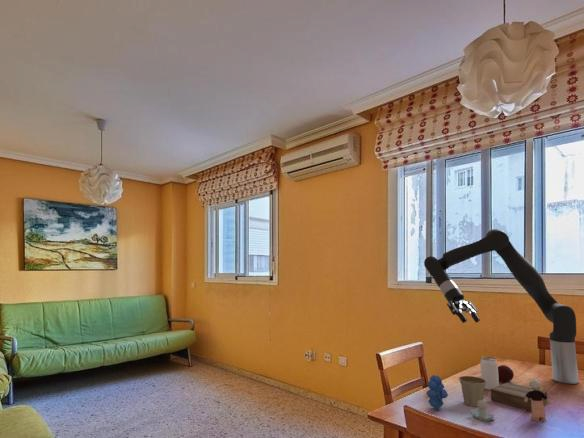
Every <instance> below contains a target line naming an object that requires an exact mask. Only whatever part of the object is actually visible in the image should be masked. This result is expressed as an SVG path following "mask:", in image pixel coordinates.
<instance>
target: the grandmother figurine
mask: <svg viewBox="0 0 584 438" xmlns="http://www.w3.org/2000/svg"><path fill="white" fill-rule="evenodd" d="M528 385H529V387H530V388H532V389H533V390H534V391H529V392H528V393H527V394H526V395H525V399H524V402H527V401H528V399H530V398H531V406H532V411H531V413H532V416H531V420H533V421H536V422H539V421H542V422H547V418H546V411H545V405H543V401H542V398H543V399H544V400H545V401H546V403H547V404H546V405H551V402H550V401H549V398H548V395H547V396H546V395H545V394H544V393H543V392H542V391H543V390H542V391H538V390H541V388H542V384H541V382H540V380H539V379H537V378H536V379H535V378H533V379H531V380H530V381H529V384H528Z"/></svg>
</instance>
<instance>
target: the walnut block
mask: <svg viewBox="0 0 584 438" xmlns="http://www.w3.org/2000/svg"><path fill="white" fill-rule="evenodd" d="M489 391H490V400H491V401H492V402H497V403H499V402H500V404H504V405H507V406H511V407H514V408H518V409H521V410H525V411H529V412H532V406H531V398H530V399H528V401H527V402H524V399H525V395H526V394H527V393H528V392H529V391H534V390H533V389H532V388H531V387H530V386H524V385H521V384H515V383H512V382H504V383H503V384H499V386H497V387H495V388H492V389H490V390H489ZM538 391H542V392H543V393H544V394H545V395H546V396H547V397H548V391H547V390H546V391H545V390H541V389H539V390H538ZM542 401H543V405H544V406H545V405H548V404H547V403H546V401H545V400H544V399H543V398H542Z"/></svg>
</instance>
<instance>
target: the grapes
mask: <svg viewBox="0 0 584 438" xmlns="http://www.w3.org/2000/svg"><path fill="white" fill-rule="evenodd" d="M442 382H443V380H442V378H441V377H440V376H439V375H435V374H433V375H431V376H429V381H428V382H427V387H428V388H429V389H428V390H427V392H426V395H427V397H428V398H429V400H428V403H429V405H430V407H432V408H433V409H434V410H435V411H438V410H440V409H441V407H442V406H443V405H444V404H445V403H444V401H443V399H446V398H447V397H448V396H449V393H448V392H447V391H446V389H445V385H444V384H443V383H442Z"/></svg>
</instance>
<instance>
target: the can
mask: <svg viewBox="0 0 584 438" xmlns="http://www.w3.org/2000/svg"><path fill="white" fill-rule="evenodd" d="M498 366H499V365H498V362H497V358H496V357H491V356H490V357H489V356H482V357H480V378H482V379H485V380H486V381H487V383H486V384H485V387H484V390H486V391H491V390H490V389H492V388H495V387H497V386H500V380H499V378H498Z"/></svg>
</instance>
